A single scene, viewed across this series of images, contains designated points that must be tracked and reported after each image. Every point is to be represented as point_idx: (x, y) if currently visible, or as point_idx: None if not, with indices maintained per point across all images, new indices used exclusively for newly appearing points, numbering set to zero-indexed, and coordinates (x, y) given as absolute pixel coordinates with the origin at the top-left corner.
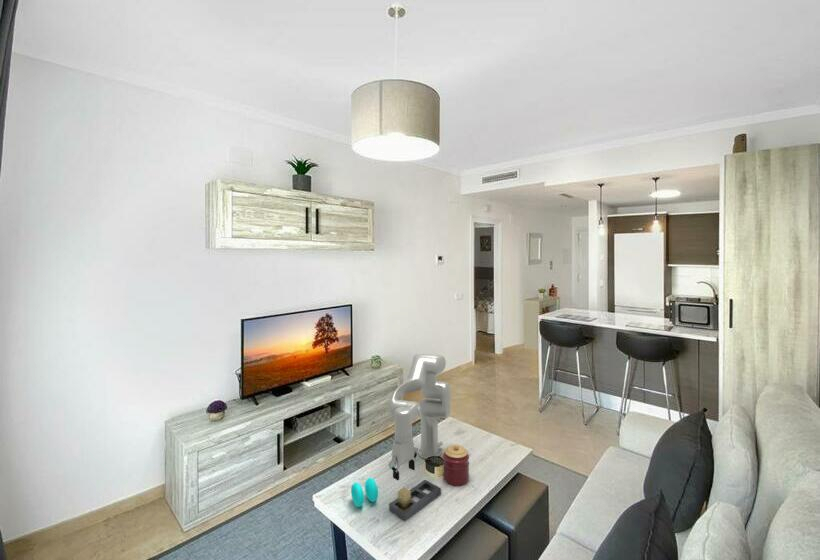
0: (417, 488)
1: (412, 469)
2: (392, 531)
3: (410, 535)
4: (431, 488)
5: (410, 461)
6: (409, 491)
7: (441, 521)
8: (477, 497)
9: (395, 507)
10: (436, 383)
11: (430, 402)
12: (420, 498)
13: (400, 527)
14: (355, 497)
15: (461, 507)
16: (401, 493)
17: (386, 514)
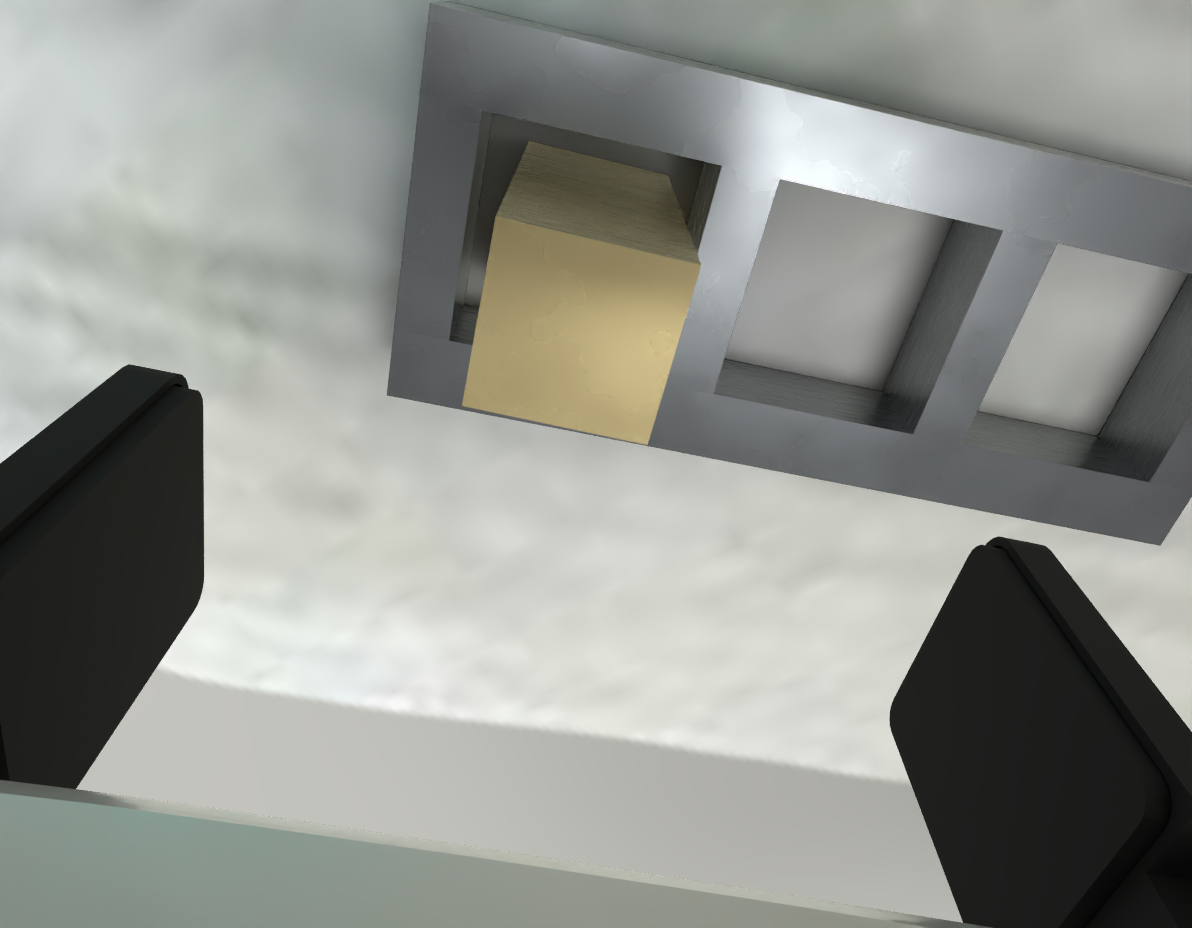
0: (1054, 241)
1: (906, 700)
2: (161, 306)
3: (270, 513)
4: (1167, 385)
5: (1076, 866)
6: (625, 433)
7: (648, 672)
8: None
9: (425, 173)
10: None
11: None
12: (920, 310)
13: (286, 356)
14: None
15: None
16: (480, 330)
17: (350, 20)
